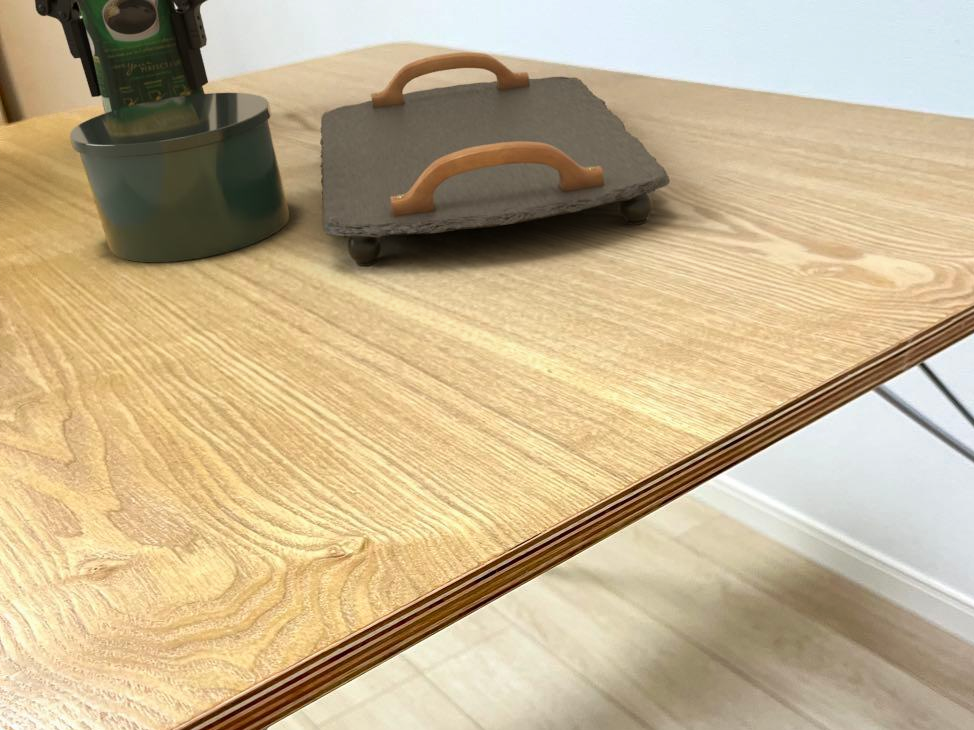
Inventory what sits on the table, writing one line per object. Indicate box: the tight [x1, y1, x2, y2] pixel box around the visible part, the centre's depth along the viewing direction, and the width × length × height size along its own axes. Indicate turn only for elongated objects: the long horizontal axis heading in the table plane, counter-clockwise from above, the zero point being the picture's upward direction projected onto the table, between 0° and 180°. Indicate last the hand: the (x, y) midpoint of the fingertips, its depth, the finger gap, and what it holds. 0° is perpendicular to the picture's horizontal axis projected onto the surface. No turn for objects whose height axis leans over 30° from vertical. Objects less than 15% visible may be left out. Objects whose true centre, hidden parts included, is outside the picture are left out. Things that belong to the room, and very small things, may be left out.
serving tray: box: [319, 51, 670, 267], centre depth 86 cm, size 39×23×6 cm, turn 9°
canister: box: [69, 92, 290, 263], centre depth 81 cm, size 14×14×8 cm
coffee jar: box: [76, 0, 206, 114], centre depth 105 cm, size 10×8×19 cm
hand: (150, 89), depth 108 cm, fingers closed on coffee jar, 9 cm apart
